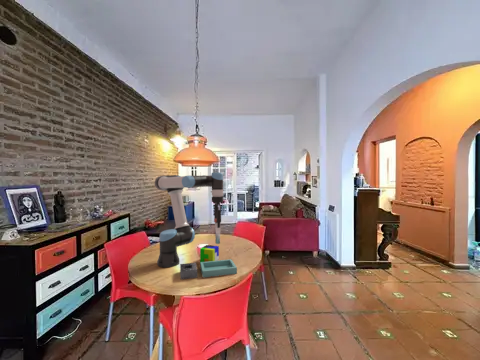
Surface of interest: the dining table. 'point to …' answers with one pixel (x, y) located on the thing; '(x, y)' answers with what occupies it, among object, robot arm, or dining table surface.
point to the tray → (218, 268)
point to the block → (188, 270)
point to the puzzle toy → (209, 253)
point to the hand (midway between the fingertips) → (217, 231)
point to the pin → (217, 234)
